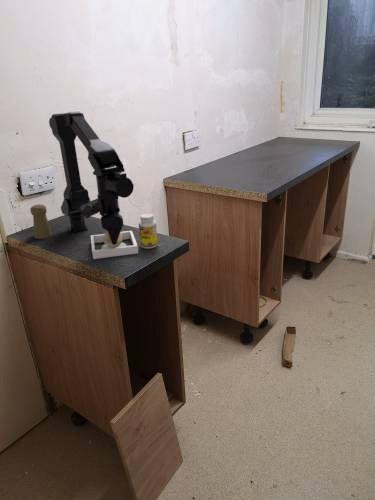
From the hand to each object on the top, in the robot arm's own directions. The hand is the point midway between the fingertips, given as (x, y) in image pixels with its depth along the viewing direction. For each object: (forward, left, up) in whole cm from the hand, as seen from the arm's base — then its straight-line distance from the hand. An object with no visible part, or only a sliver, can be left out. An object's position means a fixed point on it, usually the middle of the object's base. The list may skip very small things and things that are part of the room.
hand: (113, 239), depth 126 cm
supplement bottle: (+2, +11, -3) cm, 12 cm away
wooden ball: (0, 0, -3) cm, 3 cm away
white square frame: (0, 0, -3) cm, 3 cm away
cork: (-19, -23, -3) cm, 30 cm away
